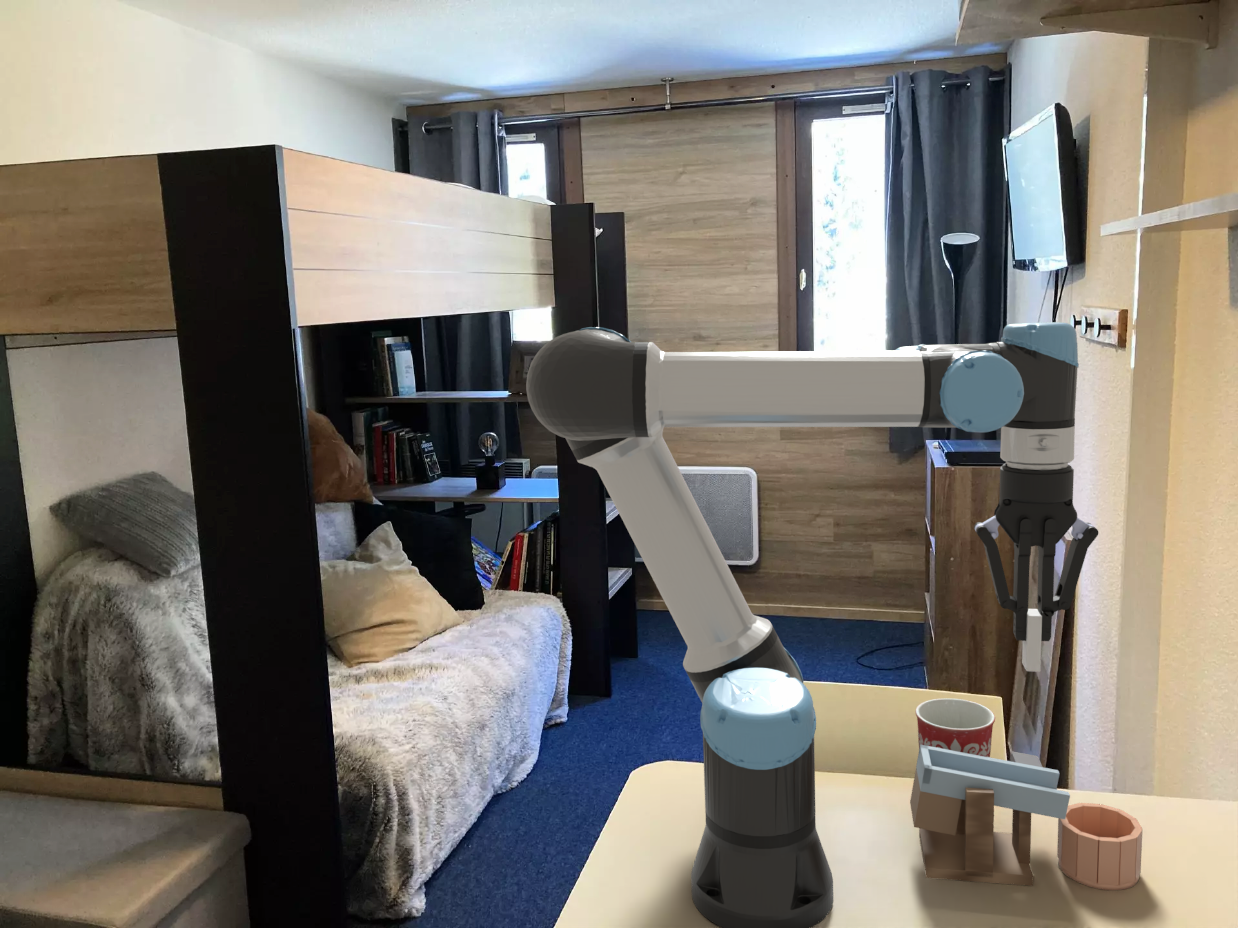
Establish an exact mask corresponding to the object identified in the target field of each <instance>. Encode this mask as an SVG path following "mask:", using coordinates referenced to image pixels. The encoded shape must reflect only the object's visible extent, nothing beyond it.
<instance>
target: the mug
mask: <svg viewBox="0 0 1238 928" xmlns="http://www.w3.org/2000/svg"><path fill="white" fill-rule="evenodd" d="M915 716H916V721H917V734H918V735H917V738H918V742H917V743H918V749H919V748H920V745H926V746H931V747H936V748H942V749H947V750H952V751H958V752H963V753H968V754H974V755H979V756H984V757H990V758H991V751H992V750H991V749H992V738H993V737H992V736H993V728H994V724H995V722H996V716H995V713H994V712H993V711H992V710H991V709H989V708H988V707H987V706H985V705H983V704H980V703H978V702H975V701H970V700H967V699H962V698H961V699H960V698H934V699H929V700H926V701H922V702H921V703H919V704H918V705H917V706H916V708H915Z"/></svg>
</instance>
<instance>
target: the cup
mask: <svg viewBox="0 0 1238 928" xmlns="http://www.w3.org/2000/svg"><path fill="white" fill-rule="evenodd" d="M1142 849H1143V827H1142V826H1141V823H1140V822H1139V821H1138V819H1137V818H1136V817H1134V816H1133V815H1131V814H1129V813H1128V812H1127V811H1124V810H1122V809H1120V808H1116V807H1113V806H1109V805H1105V804H1103V803H1102V804H1100V803H1093V802H1091V803H1090V802H1077V803H1074V804H1068V808H1067V813H1066V818H1065V819H1060V818H1057V851H1056V852H1057V853H1056V854H1057V855H1056V857H1057V861H1058V866H1059V868H1060V870H1061V871H1062V873H1064V874H1065V876H1067V877H1068V878H1070V879H1071V880H1073V881H1075V882H1077V883H1080V884H1082V885H1084V886H1086V887H1090V888H1093V889H1098V890H1104V891H1122V890H1127V889H1130V888H1133V887H1134V886H1136V885H1137V884H1138V882H1139V879H1140V874H1141V873H1142V871H1141V870H1142Z"/></svg>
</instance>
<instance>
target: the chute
mask: <svg viewBox="0 0 1238 928" xmlns="http://www.w3.org/2000/svg"><path fill="white" fill-rule="evenodd" d="M917 755H918V756H917V760H916V766H915V773H914V779H913V784H912V788H911V789H912V790H911V795H910V799H909V800H910V802H909V804H910V811H911V816H912V817H911V818H912V824H913V827H914V828H917V829H919V828H921V829H926V830H931V831H936V832H940V833H945V834H950V835H955V834H956V829H957V823H958V818H959V813H960V807H961V802H962V799H963V800H965V788H982V789H993V791H994V807H998V808H1005V809H1010V810H1013V809H1014V810H1019V811H1024V812H1029V813H1031V814H1035V815H1041V816H1046V817H1050V818H1056V819H1058V818H1060V819H1065V818H1066V813H1067V808H1068V806H1069V802H1070V797H1071V795H1070V792H1069V791H1065V790H1060V789H1058V784H1059V783H1058V782H1059V778H1060V771H1059V770H1058V769H1052V768H1048V767H1043V765H1042V763H1041V760H1040V758H1039V756H1038V755H1033V754H1028V753H1023V752H1017V751H1010V757H1009V760H1005V759H999V758H993V757H991V756H990V757H984V756H979V755H974V754H968V753H963V752H958V751H952V750H947V749H942V748H936V747H931V746H926V745H920V748H919V747H918V754H917Z"/></svg>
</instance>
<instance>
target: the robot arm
mask: <svg viewBox="0 0 1238 928" xmlns="http://www.w3.org/2000/svg"><path fill="white" fill-rule="evenodd" d="M1077 335H1078V334H1077V331H1076V328H1075V327H1074V326H1073V325H1072V324H1070V323H1068V322H1058V321H1056V322H1055V321H1054V322H1053V321H1052V322H1051V321H1049V322H1045V321H1043V322H1024V323H1011V324H1010V323H1009V324H1007V325H1005V326H1004V328H1003V330H1002V336H1001V338H1000V341H996V342H995V341H994V342H987V343H962V344H961V343H960V344H959V343H958V344H957V343H956V344H955V343H954V344H946V343H945V344H926V343H925V344H924V343H922V344H919V345H911V346H910V345H909V346H899V347H898V348H896V349H894V350H867V351H866V350H854V351H853V350H852V351H851V350H845V351H843V350H842V351H841V350H839V351H836V350H835V351H832V350H831V351H829V350H828V351H827V350H825V351H824V350H823V351H821V350H820V351H818V350H817V351H815V350H814V351H811V350H809V351H801V350H799V351H663V350H661V348H659V346H657V345H656V343H654V341H653V342H652V341H640V342H639V341H637V342H635V341H631V340H630V339H628V338H627V337H626V336H625V335H623V334H622V333H619V332H617V331H615V330H613V329H609V328H606V327H601V326H599V327H598V326H596V327H595V326H594V327H592V326H589V327H583V328H580V329H578V330H575V331H570V332H567V333H562V334H561V335H558V336H556V337H554V338H552V339H550V340H549V341H547V342H546V343H545V344H544V345H543V346H542V347H541V348H540V349H539V350H538V352H537V353H536V354H535V356H534V357H533V359H532V361H531V362H530V366H529V368H528V371H527V375H526V377H527V378H526V382H525V383H526V384H525V385H526V386H525V387H526V395H527V401H528V404H529V406H530V408H531V412H532V413H533V414H534V416H535V417H536V419H537V420H538V421H539V423H541V425H542V426H544V427H545V429H547V430H548V432H551V433H553V434H555V435H557V436H558V437H561V438H565V440H566V442H567V444H568V446H569V447H570V449H571V452H572V454H573V455H574V457H575V459H576V461H577V463H579V464H582V465H585V466H588V467H590V468H593V469H595V470H596V471H597V473H598V475H599V477H600V479H601V481H602V484H603V485H604V486H605V488H606V491H607V493H608V495H609V496H610V499H611V500H612V501H611V502H612V503H613V505H614V506H615V508H616V510H617V512H618V514H619V516H620V518H621V521H623V524H624V526H625V528H626V529H627V532H628V533H629V536H630V537H631V539H632V541H633V543H634V546H635V547H636V549H637V551H638V553H639V555H640V557H641V559H642V562H644V564H645V566H646V569H647V571H648V572H649V574H650V576H651V578H652V580H653V582H654V584H655V586H656V589H657V590H658V592H659V594H660V596H661V598H662V600H663V601H664V603H665V605H666V607H667V609H668V611H669V613H670V615H671V617H672V619H673V621H674V622H675V625H676V627H677V628H678V630H679V633H680V634H681V636H682V638H683V641H684V642H685V644H686V646H687V650H686V653H685V655H684V658H683V662H682V667H683V668H684V670H685V672H686V674H687V676H688V677H689V681H690V682H691V684H692V686H693V688H694V689H695V692H696V694H697V696H698V698H699V700H700V702H701V703H702V706H701V709H700V717H699V718H700V728H701V731H702V747H703V748H702V749H703V751H702V752H703V754H702V755H703V777H704V778H703V780H704V784H703V785H704V809H705V812H704V813H705V827H704V829H703V833H702V836H701V840H700V843H699V845H698V849H697V852H696V855H695V859H694V863H693V865H692V869H691V876H690V878H691V880H690V882H691V898H692V901H693V904H694V905H695V907H696V909H697V910H698V911H699V912H700V914H701V915H703V917H704V918H706V919H707V920H708V921H709V922H711V923H713V924H715V925H717V926H718V927H720V928H812V927H815V926H816V925H818V924H819V923H820V922H822V921H823V920H824V919H825V918H826V917H827V916H828V914H829V913H830V912H831V910H832V908H833V905H834V904H833V903H834V878H833V877H834V876H833V873H832V870H831V867H830V865H829V862H828V859H827V856H826V854H825V853H826V852H825V851H824V847H823V845H822V842H821V840H820V836H819V834H818V830H817V825H816V776H815V775H816V769H815V768H816V767H815V766H816V765H815V761H816V760H815V759H816V758H815V757H816V756H815V754H816V753H815V733H816V729H817V716H816V715H817V714H816V710H815V707H814V701H813V696H812V695H811V692H810V691H809V689H808V688H807V686H806V685H805V684H804V678H803V674H802V671H801V669H800V667H799V665H798V662H797V660H795V658H794V657H793V656H792V655H791V653H790V651H789V650H787V649H786V648H785V647H784V645H783V644H782V642H781V639H780V637H779V636H778V634H777V632H776V629H775V628H774V626H773V624H772V623H771V621H770V620H769V619H767V618H765V617H761V616H758V615H755V614H753V613H752V611H751V609H750V607H749V605H748V603H747V601H746V599H745V597H744V595H743V593H742V590H741V588H740V587H739V585H738V583H737V581H736V579H735V577H734V575H733V574H732V571H731V569H730V567H729V565H728V563H727V561H726V559H725V557H724V555H723V554H722V551H721V549H720V548H719V546H718V544H717V541H716V539H715V538H714V535H713V534H712V531H711V529H710V527H709V525H708V523H707V521H706V520H705V518H704V516H703V514H702V512H701V510H700V508H699V506H698V504H697V502H696V499H695V498H694V496H693V494H692V492H691V490H690V488H689V486H688V484H687V482H686V481H685V478H684V476H683V474H682V472H681V471H680V468H679V466H678V465H677V462H676V460H675V458H674V457H673V454H672V452H671V450H670V449H669V447H668V445H667V443H666V441H665V439H664V437H663V433H664V428H813V427H814V428H844V427H845V428H852V427H855V428H856V427H857V428H861V427H862V428H865V427H867V428H869V427H870V428H871V427H872V428H875V427H876V428H883V427H886V428H887V427H888V428H889V427H890V428H894V427H895V428H897V427H898V428H900V427H905V428H907V427H908V428H909V427H910V428H912V427H913V428H915V427H917V428H918V427H919V428H957V429H958V430H963V431H965V432H968V433H989V432H993V431H997V430H999V429H1000V455H999V456H1000V457H999V458H1000V459H1001V460H1002V461H1003V462H1005V463H1003V464H1002V465H1001V466H1000V468H999V500H998V503H997V505H996V507H995V509H994V512H993V516H992V517H990V518H988V519H986V520H985V521H983V522H982V521H978V522H975V524H974V525H973V529H974V530H975V533H976V535H977V536H978V538H980V541H982V544H983V547H984V551H985V556H986V560H987V563H988V568H989V572H990V576H991V580H992V585H993V588H994V592H995V597H996V600H997V602H998V604H999V606H1000V607H1001V608H1002V609H1005V610H1007V609H1008V610H1010V611H1011V612H1013V626H1012V627H1013V628H1012V630H1013V631H1012V633H1013V634H1014V637H1015V639H1016V641H1021V642H1022V644H1021V645H1022V650H1021V652H1022V653H1021V654H1022V655H1021V656H1022V657H1021V659H1022V660H1021V664H1022V665H1023V668H1024V669H1025V671H1026V672H1036V673H1037V672H1039V673H1040V672H1041V670H1042V669H1041V665H1042V663H1041V662H1042V661H1041V659H1042V642H1050V640H1051V638H1052V623H1053V622H1052V621H1053V620H1052V619H1053V618H1052V617H1053V616H1054V615H1055V612H1059V611H1062V610H1063V611H1067V610H1069V609H1070V607H1071V606H1072V602H1073V598H1074V594H1075V591H1076V589H1077V585H1078V582H1079V579H1080V575H1081V572H1082V568H1083V565H1084V563H1085V559H1086V555H1087V553H1088V552H1087V551H1088V549H1089V547H1090V546H1091V545H1092V544H1093V542H1094V541H1095V539H1096V538H1097V537H1098V535H1099V529H1097V528H1096V527H1095V526H1094V525H1093V524H1092V523H1090V522H1085V521H1084V520H1083V519H1080V518H1079V517H1078V512H1077V510H1076V509H1075V506H1074V502H1073V500H1074V478H1075V477H1074V476H1075V475H1074V472H1075V469H1074V468H1073V467H1072V465H1071V464H1069V463H1071V462H1072V461H1074V459H1075V425H1076V423H1075V422H1076V401H1077V400H1076V399H1077V382H1078V368H1080V367H1079V365H1080V364H1079V358H1078V356H1079V355H1078V354H1079V353H1078V351H1079V350H1078V337H1077ZM999 527H1001V528H1002V529H1003V531H1004V532H1005V533H1006V535H1007V536H1008V538H1009V539H1010V540H1011V542H1013V550H1014V552H1013V553H1014V555H1013V588H1012V589H1013V590H1012V591H1013V593H1012V595H1010V592H1009V591H1010V590H1009V588H1008V583H1007V579H1006V575H1005V571H1004V568H1003V567H1004V566H1003V563H1002V558H1001V554H1000V550H999V547H998V543H997V542H996V539H997V538H998V537H999V535H1000V533H999V531H998V528H999ZM1070 528H1072V529H1071V530H1070ZM1069 530H1070V535H1071V536H1072V539H1071V542H1070V545H1069V547H1068V551H1067V553H1066V557H1065V560H1064V564H1063V567H1062V570H1061V572H1060V573H1061V574H1060V578H1059V581H1058V584H1057V587H1056V590H1055V587H1054V585H1055V557H1056V552H1057V550H1056V549H1057V548H1056V547H1057V546H1056V545H1057V544H1059V542H1060V541H1061V540H1062V538H1063V537H1064V536H1065V535H1066V534H1067V532H1068V531H1069ZM1032 547H1037V550H1038V553H1037V554H1038V559H1037V595H1036V598H1037V600H1036V601H1037V602H1036V605H1037V608H1029V598H1030V597H1029V593H1030V564H1031V563H1030V560H1031V559H1030V558H1031V555H1032V554H1031V553H1032ZM1054 590H1055V594H1054Z"/></svg>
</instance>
